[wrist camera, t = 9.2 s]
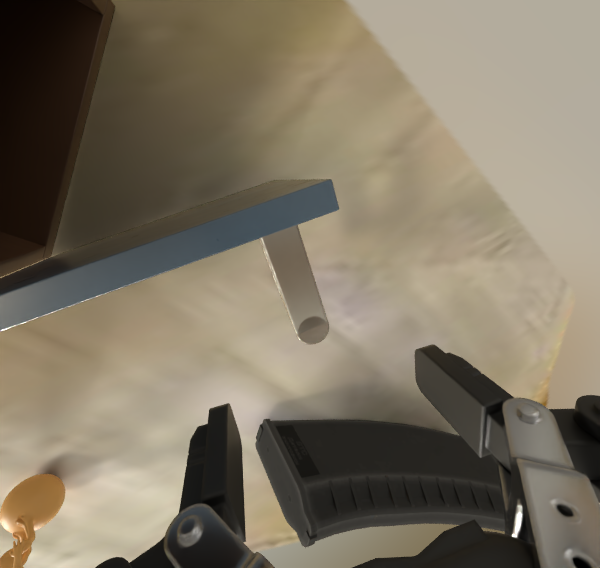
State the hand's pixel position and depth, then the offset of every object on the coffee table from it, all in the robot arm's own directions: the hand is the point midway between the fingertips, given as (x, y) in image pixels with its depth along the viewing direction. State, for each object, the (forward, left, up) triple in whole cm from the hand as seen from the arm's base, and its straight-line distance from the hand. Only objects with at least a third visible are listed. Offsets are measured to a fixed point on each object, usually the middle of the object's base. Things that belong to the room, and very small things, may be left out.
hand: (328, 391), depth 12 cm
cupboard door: (-5, +5, -13) cm, 15 cm away
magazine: (+5, -22, -14) cm, 26 cm away
